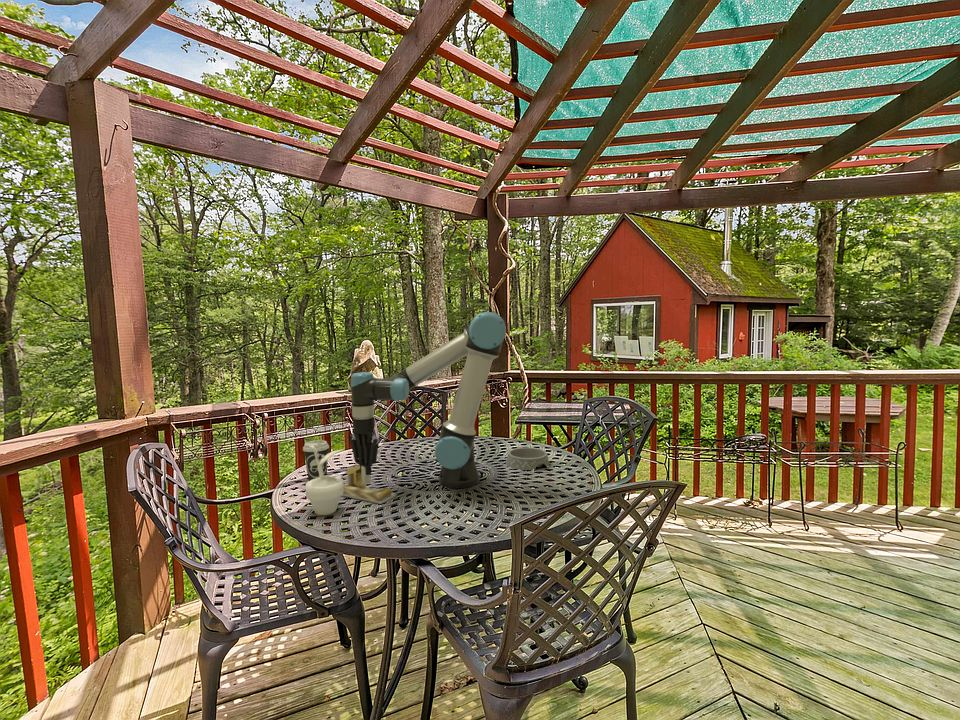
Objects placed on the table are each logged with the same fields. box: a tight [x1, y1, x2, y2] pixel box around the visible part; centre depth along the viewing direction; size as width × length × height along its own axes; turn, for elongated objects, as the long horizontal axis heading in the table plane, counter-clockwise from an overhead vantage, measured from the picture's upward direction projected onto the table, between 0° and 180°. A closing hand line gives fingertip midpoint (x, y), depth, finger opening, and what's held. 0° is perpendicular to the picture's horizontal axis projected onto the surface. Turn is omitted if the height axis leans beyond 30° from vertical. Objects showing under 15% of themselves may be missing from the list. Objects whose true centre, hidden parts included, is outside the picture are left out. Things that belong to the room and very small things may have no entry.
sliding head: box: [346, 464, 367, 489], centre depth 171 cm, size 4×6×8 cm
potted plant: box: [305, 441, 345, 516], centre depth 154 cm, size 13×12×25 cm
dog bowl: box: [505, 446, 550, 470], centre depth 200 cm, size 17×18×5 cm
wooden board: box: [342, 487, 397, 505], centre depth 167 cm, size 17×8×1 cm, turn 62°
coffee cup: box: [302, 439, 330, 482], centre depth 183 cm, size 10×10×15 cm
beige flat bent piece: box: [343, 484, 392, 502], centre depth 167 cm, size 17×8×2 cm, turn 62°
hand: (366, 483), depth 169 cm, fingers closed
